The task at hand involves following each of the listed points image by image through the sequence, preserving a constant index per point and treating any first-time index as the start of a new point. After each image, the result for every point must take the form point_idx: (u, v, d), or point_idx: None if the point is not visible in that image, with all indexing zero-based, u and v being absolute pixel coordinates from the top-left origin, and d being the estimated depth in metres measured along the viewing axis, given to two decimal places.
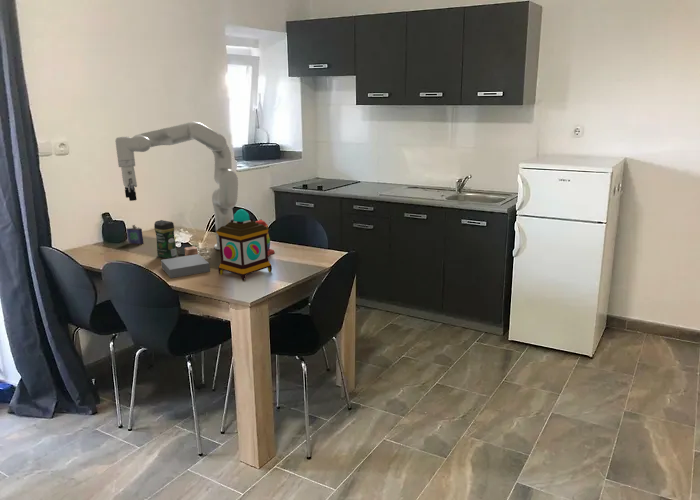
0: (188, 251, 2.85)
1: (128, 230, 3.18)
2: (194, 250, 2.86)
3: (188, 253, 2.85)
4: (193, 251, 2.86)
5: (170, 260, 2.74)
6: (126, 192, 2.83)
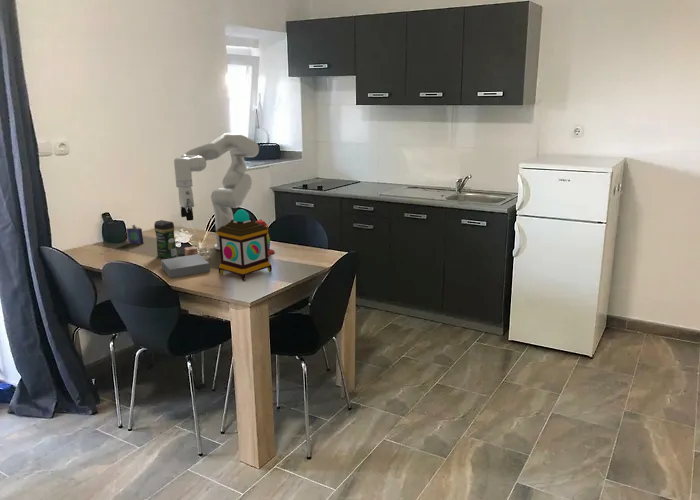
0: (188, 251, 2.85)
1: (128, 230, 3.18)
2: (194, 250, 2.86)
3: (188, 253, 2.85)
4: (193, 251, 2.86)
5: (170, 260, 2.74)
6: (182, 212, 2.86)
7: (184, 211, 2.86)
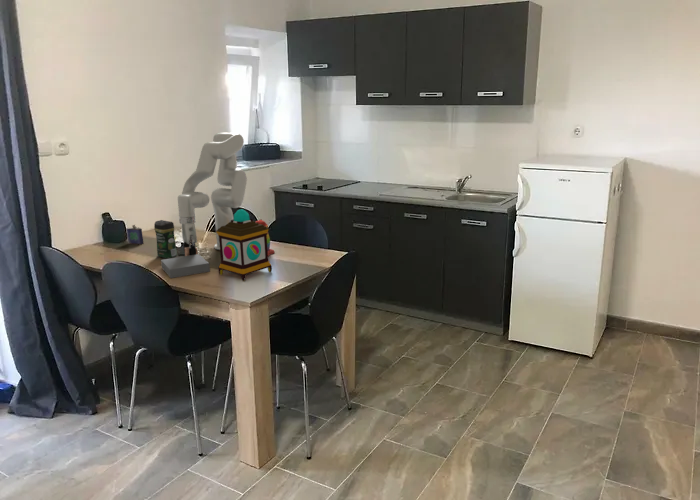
0: (188, 251, 2.85)
1: (128, 230, 3.18)
2: None
3: (188, 253, 2.85)
4: None
5: (170, 260, 2.74)
6: (185, 246, 2.90)
7: (187, 246, 2.91)
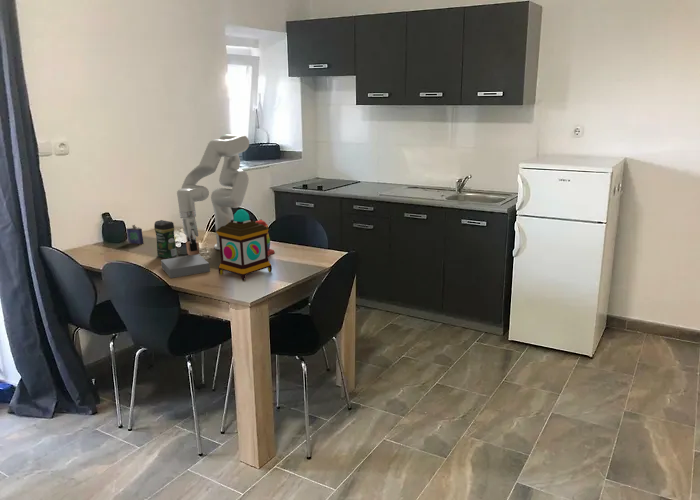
0: (189, 245, 2.85)
1: (128, 230, 3.18)
2: None
3: (189, 247, 2.85)
4: None
5: (170, 260, 2.74)
6: None
7: None
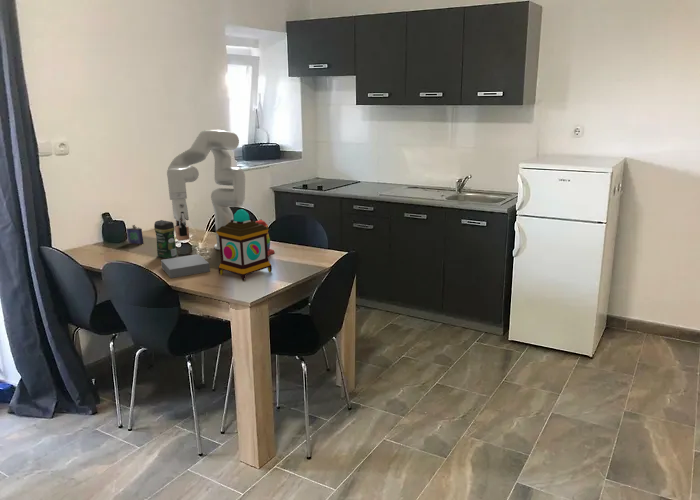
0: None
1: (128, 230, 3.18)
2: None
3: None
4: None
5: (170, 260, 2.74)
6: None
7: None
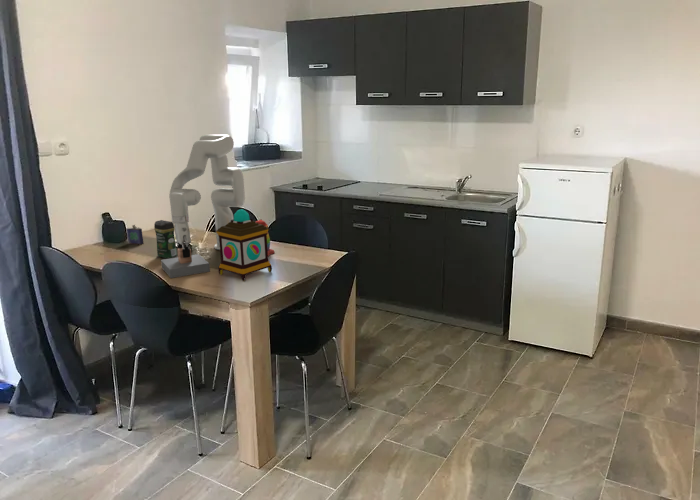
0: (181, 252, 2.68)
1: (128, 230, 3.18)
2: None
3: (181, 254, 2.68)
4: None
5: (170, 260, 2.74)
6: (178, 247, 2.74)
7: (181, 247, 2.74)
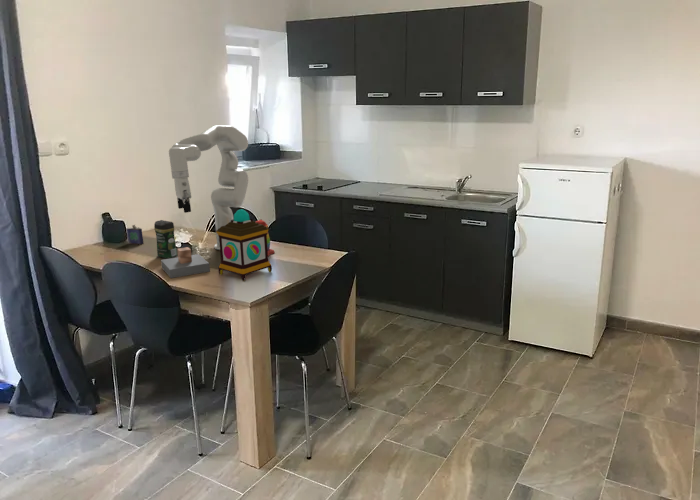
0: (181, 252, 2.68)
1: (128, 230, 3.18)
2: (187, 251, 2.69)
3: (181, 254, 2.68)
4: (186, 252, 2.69)
5: (170, 260, 2.74)
6: (179, 203, 2.77)
7: (181, 202, 2.77)
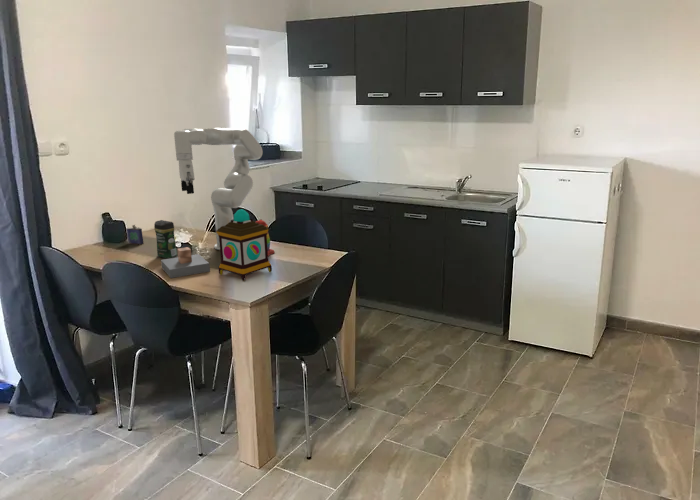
0: (181, 252, 2.68)
1: (128, 230, 3.18)
2: (187, 251, 2.69)
3: (181, 254, 2.68)
4: (186, 252, 2.69)
5: (170, 260, 2.74)
6: (182, 185, 2.86)
7: (184, 185, 2.87)
